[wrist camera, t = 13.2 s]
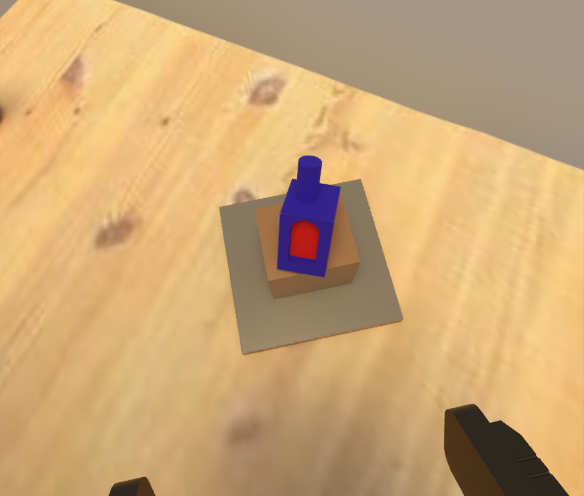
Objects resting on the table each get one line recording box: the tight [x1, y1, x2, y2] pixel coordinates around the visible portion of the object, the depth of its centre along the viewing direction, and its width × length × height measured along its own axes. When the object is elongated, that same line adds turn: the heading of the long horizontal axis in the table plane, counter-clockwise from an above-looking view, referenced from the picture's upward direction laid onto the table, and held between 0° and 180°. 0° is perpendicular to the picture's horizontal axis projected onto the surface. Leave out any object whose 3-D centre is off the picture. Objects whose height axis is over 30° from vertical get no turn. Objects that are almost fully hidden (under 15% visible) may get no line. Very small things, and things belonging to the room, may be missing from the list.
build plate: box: [219, 179, 403, 355], centre depth 34 cm, size 14×14×7 cm
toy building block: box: [277, 156, 341, 278], centre depth 28 cm, size 4×4×8 cm
